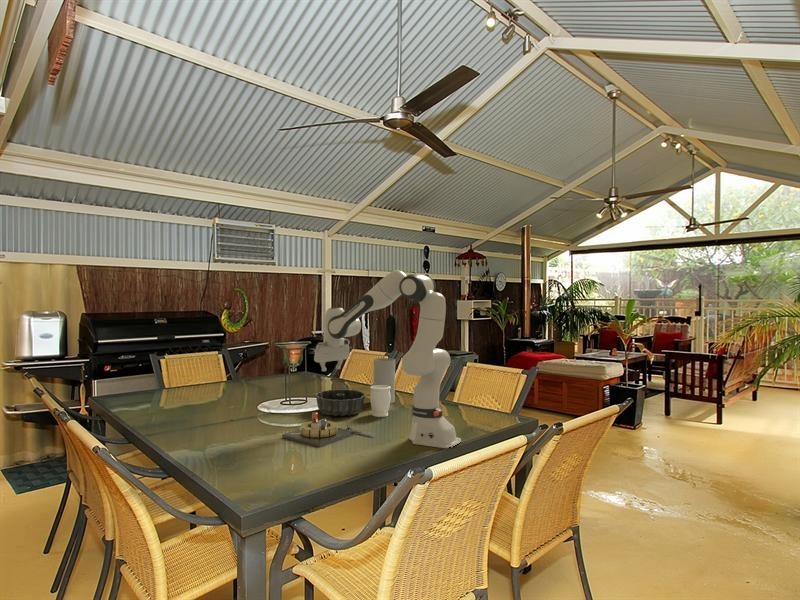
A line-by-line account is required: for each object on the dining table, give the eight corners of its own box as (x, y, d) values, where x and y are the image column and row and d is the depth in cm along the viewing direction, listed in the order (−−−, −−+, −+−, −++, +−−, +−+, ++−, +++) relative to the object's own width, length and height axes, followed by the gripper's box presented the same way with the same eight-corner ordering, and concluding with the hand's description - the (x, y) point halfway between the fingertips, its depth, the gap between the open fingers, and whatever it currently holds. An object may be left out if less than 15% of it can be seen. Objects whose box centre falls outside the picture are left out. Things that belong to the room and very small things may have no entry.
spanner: (376, 436, 210) (376, 430, 210) (371, 438, 207) (371, 431, 207) (348, 430, 218) (348, 424, 218) (344, 432, 216) (344, 425, 216)
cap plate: (354, 434, 211) (354, 422, 211) (320, 447, 193) (320, 433, 193) (317, 426, 224) (317, 414, 223) (282, 437, 205) (282, 425, 205)
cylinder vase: (375, 405, 270) (376, 361, 270) (371, 400, 282) (371, 358, 282) (396, 404, 273) (397, 360, 273) (391, 399, 285) (392, 358, 285)
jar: (391, 413, 251) (391, 385, 251) (389, 418, 241) (389, 388, 241) (371, 412, 252) (372, 384, 252) (368, 417, 242) (368, 388, 242)
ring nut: (344, 431, 211) (345, 415, 211) (319, 439, 197) (320, 422, 197) (318, 425, 219) (318, 410, 219) (292, 433, 206) (292, 417, 206)
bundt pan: (369, 418, 241) (369, 398, 241) (316, 420, 235) (316, 400, 235) (361, 406, 267) (362, 388, 267) (314, 408, 261) (314, 389, 261)
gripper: (321, 343, 216) (319, 373, 216) (352, 340, 232) (350, 368, 233) (311, 341, 220) (310, 371, 220) (342, 339, 236) (341, 366, 237)
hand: (331, 370), depth 227 cm, fingers open, 8 cm apart
